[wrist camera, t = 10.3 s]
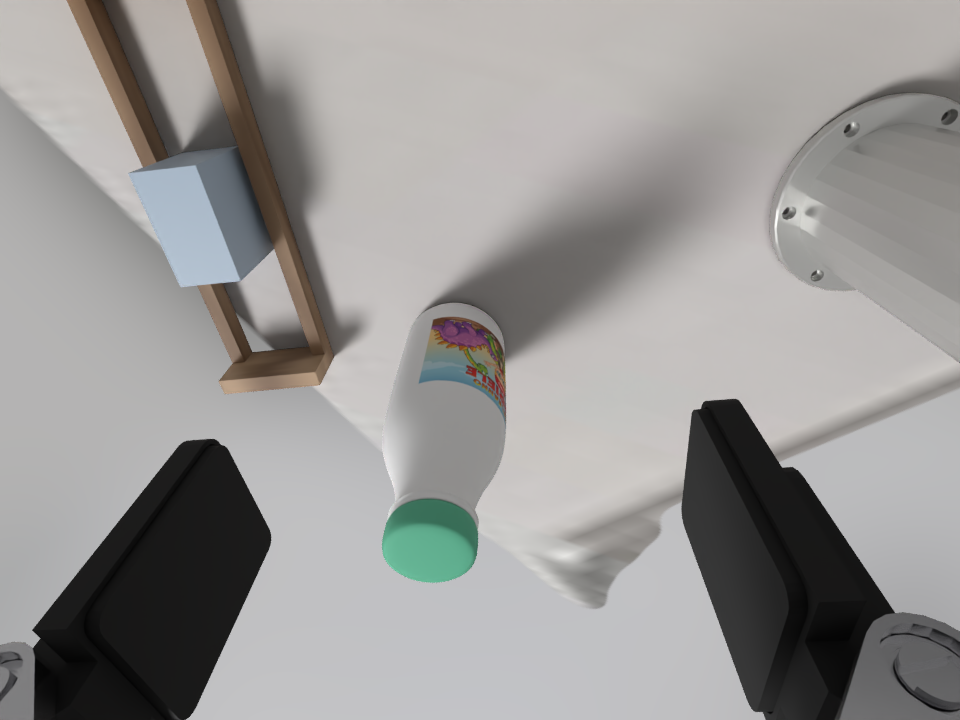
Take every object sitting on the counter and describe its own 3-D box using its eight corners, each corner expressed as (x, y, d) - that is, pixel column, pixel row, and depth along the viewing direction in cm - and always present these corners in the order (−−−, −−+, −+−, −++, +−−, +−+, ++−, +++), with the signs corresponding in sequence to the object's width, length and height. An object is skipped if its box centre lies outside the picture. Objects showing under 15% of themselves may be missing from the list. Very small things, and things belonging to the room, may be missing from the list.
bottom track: (200, -48, 28) (160, -59, 25) (334, 357, 42) (319, 385, 39) (73, -25, 29) (17, -33, 26) (246, 365, 43) (224, 394, 40)
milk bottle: (450, 397, 44) (422, 622, 27) (388, 335, 41) (312, 546, 24) (523, 350, 41) (542, 567, 24) (462, 280, 38) (436, 474, 21)
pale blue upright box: (240, 145, 34) (195, 165, 29) (275, 247, 37) (240, 281, 32) (182, 152, 34) (128, 173, 29) (222, 253, 38) (180, 287, 33)
